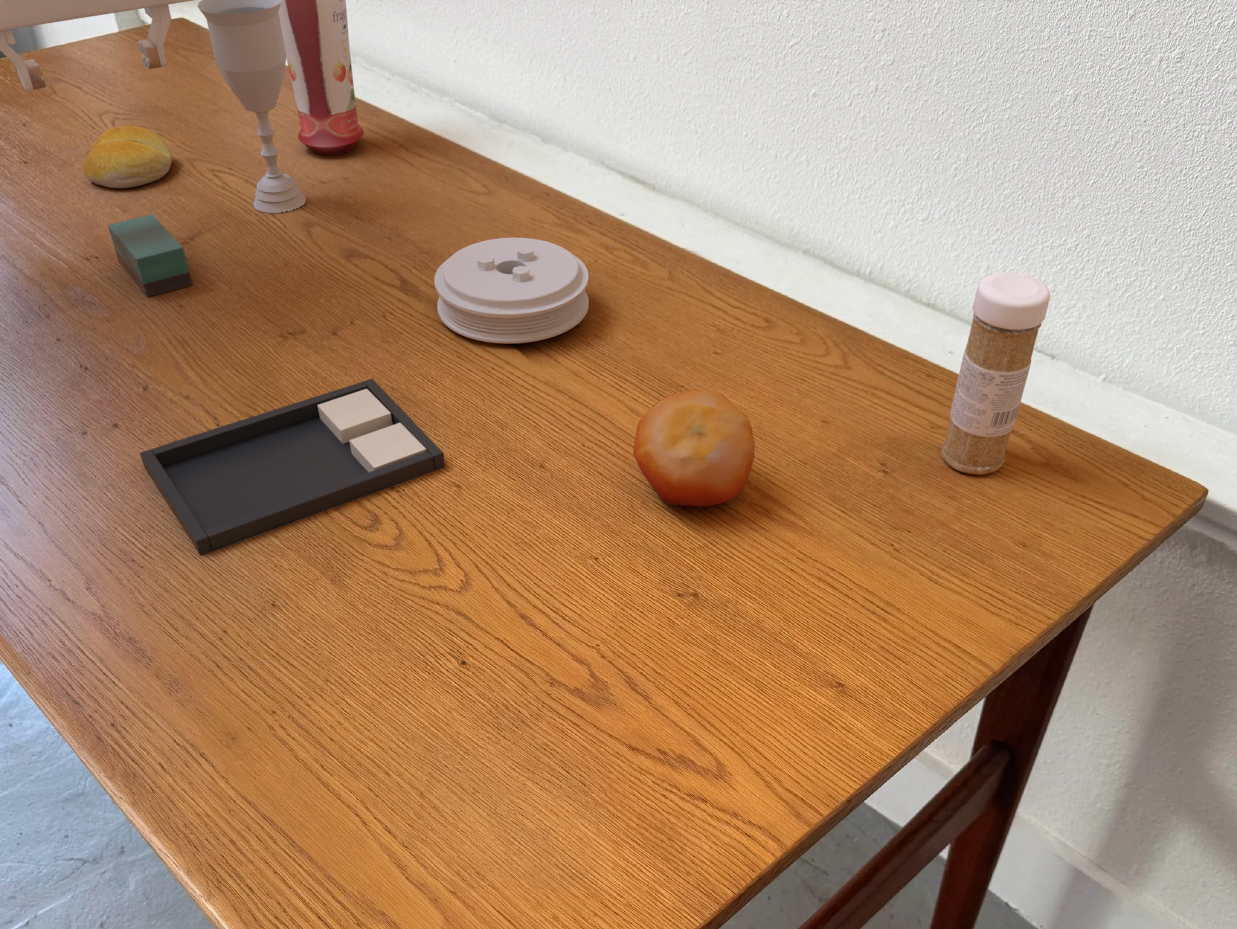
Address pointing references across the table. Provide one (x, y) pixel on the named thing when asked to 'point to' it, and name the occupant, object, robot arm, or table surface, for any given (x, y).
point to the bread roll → (127, 158)
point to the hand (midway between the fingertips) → (96, 76)
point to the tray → (273, 471)
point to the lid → (512, 290)
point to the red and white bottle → (321, 73)
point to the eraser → (150, 255)
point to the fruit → (695, 448)
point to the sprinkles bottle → (994, 370)
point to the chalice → (254, 81)
